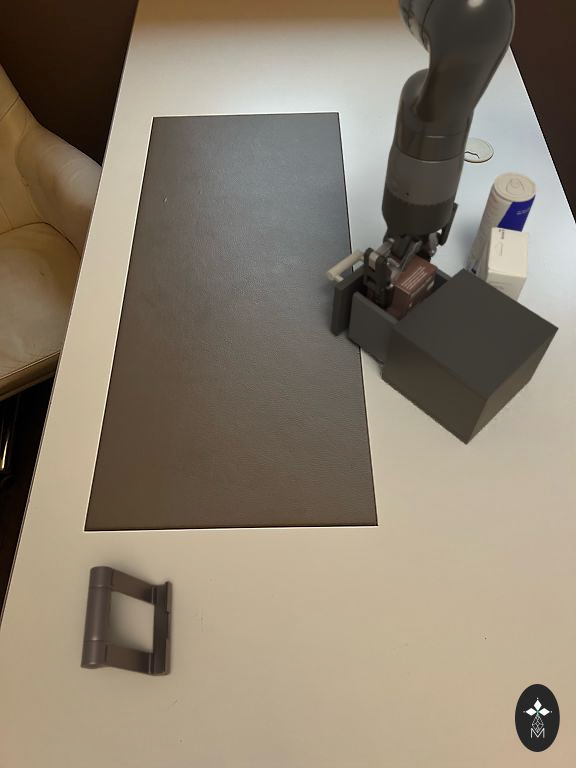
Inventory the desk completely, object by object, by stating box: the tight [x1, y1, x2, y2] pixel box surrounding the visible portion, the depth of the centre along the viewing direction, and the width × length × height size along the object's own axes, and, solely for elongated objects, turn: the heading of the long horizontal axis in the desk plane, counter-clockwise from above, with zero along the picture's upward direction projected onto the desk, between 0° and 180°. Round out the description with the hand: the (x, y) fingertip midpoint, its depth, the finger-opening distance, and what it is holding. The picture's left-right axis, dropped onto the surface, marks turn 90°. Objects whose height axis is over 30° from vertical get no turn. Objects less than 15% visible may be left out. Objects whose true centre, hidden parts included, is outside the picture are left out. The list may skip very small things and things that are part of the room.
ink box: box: [476, 227, 530, 302], centre depth 82 cm, size 9×5×12 cm, turn 167°
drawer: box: [325, 248, 453, 365], centre depth 81 cm, size 17×12×9 cm
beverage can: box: [466, 172, 538, 275], centre depth 86 cm, size 6×6×15 cm
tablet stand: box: [80, 565, 173, 677], centre depth 60 cm, size 9×8×8 cm
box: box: [367, 253, 439, 321], centre depth 78 cm, size 6×6×7 cm
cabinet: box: [381, 267, 559, 445], centre depth 76 cm, size 14×14×11 cm
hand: (400, 289), depth 78 cm, fingers closed on box, 6 cm apart
